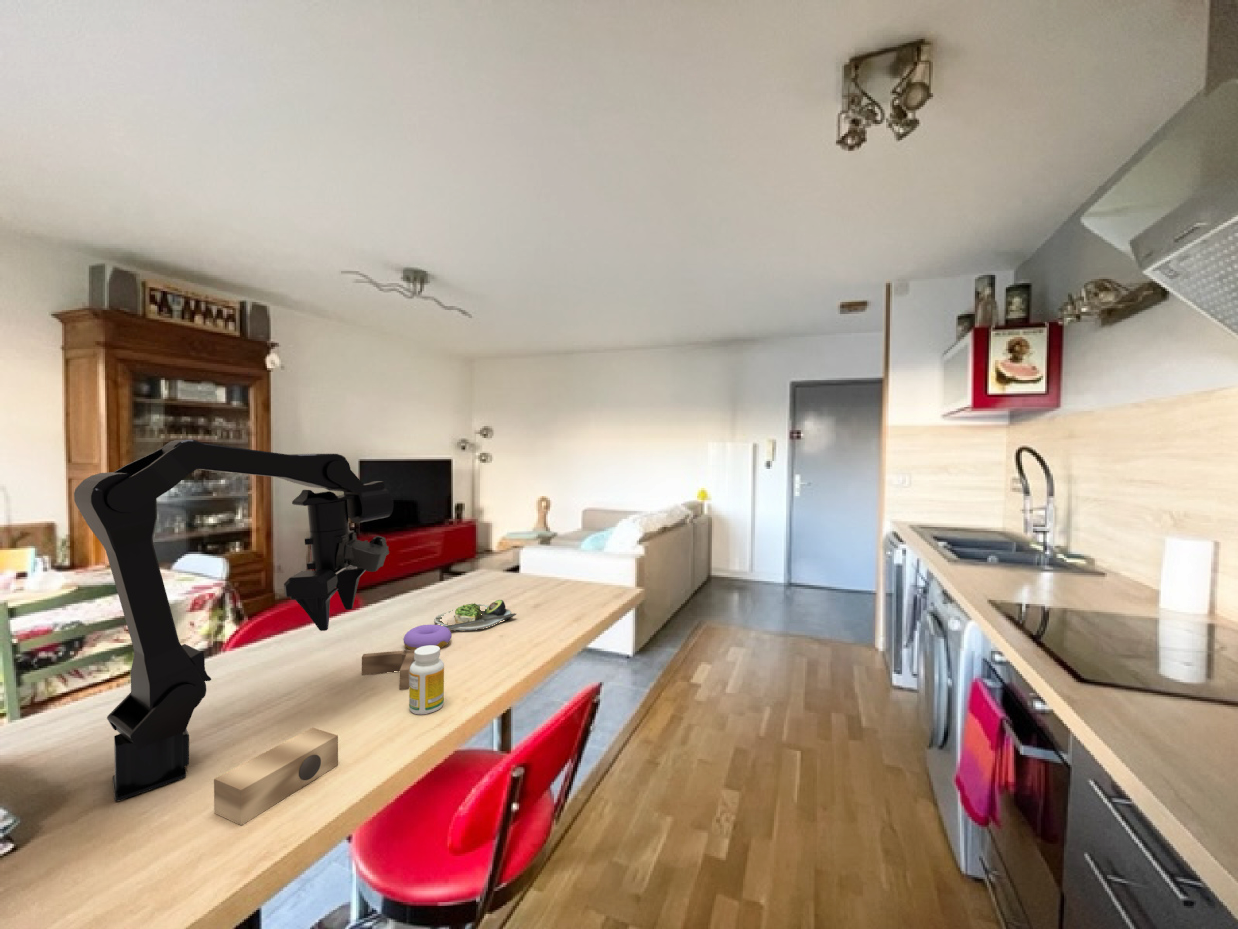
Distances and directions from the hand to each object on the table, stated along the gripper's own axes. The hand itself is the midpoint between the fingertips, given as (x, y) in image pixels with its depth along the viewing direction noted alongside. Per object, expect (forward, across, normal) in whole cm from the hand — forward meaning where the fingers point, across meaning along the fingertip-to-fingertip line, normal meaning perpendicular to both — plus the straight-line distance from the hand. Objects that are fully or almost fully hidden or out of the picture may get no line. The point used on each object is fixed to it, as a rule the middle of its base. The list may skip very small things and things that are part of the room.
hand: (337, 619), depth 84 cm
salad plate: (+18, +40, -15) cm, 46 cm away
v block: (+15, +9, -6) cm, 18 cm away
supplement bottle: (+15, -4, -15) cm, 21 cm away
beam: (+12, -24, -2) cm, 27 cm away
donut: (+16, +24, -8) cm, 30 cm away
